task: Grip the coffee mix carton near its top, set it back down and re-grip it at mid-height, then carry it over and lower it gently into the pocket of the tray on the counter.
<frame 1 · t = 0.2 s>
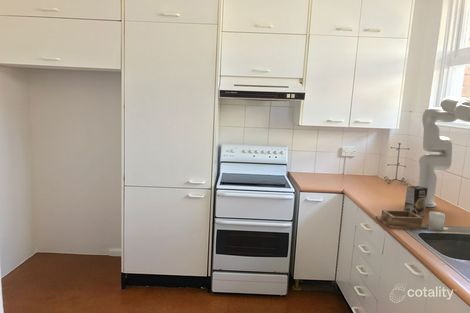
tray: (400, 223, 179), on the worktop
white rounded cylinder: (435, 226, 176), on the worktop
coffee box: (413, 215, 193), on the worktop
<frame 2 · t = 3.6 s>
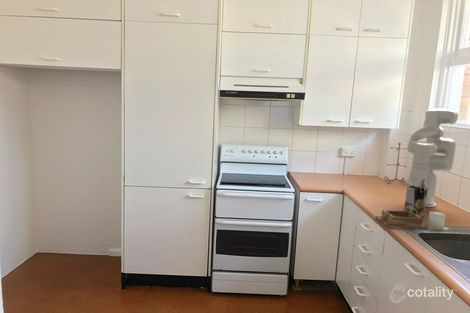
hand: (416, 197, 192), 11 cm above the worktop, fingers closed on coffee box, 8 cm apart
coffee box: (413, 215, 193), on the worktop, touching gripper
everything else where it was.
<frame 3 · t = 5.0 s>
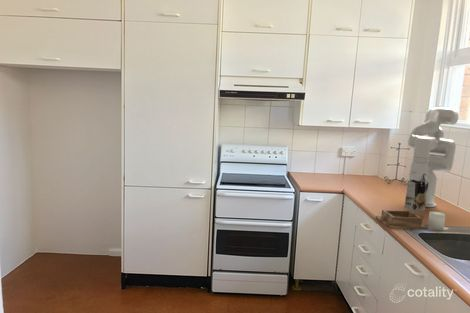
hand: (416, 191, 191), 14 cm above the worktop, fingers closed on coffee box, 8 cm apart
coffee box: (414, 209, 193), point 3 cm above the worktop, touching gripper
everything else where it was.
when the fingers open (11 cm above the worktop, at t = 6.3 s): coffee box stays where it is, on the worktop.
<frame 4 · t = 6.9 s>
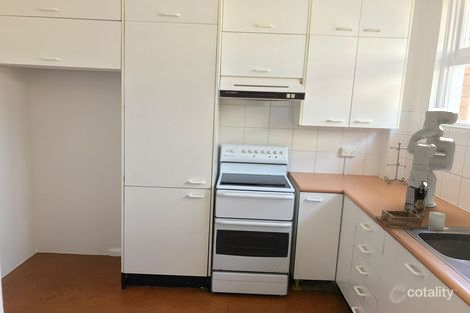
hand: (415, 197, 192), 10 cm above the worktop, fingers open, 9 cm apart
coffee box: (413, 215, 194), on the worktop
everything else where it was.
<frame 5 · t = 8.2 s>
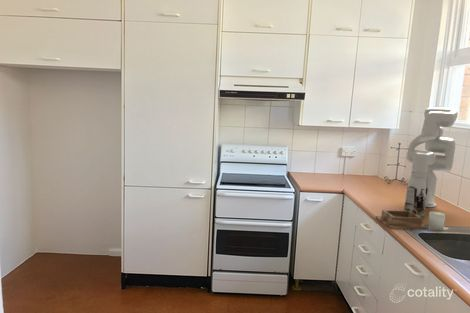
hand: (415, 205, 193), 6 cm above the worktop, fingers closed on coffee box, 8 cm apart
coffee box: (413, 215, 194), on the worktop, touching gripper
everything else where it was.
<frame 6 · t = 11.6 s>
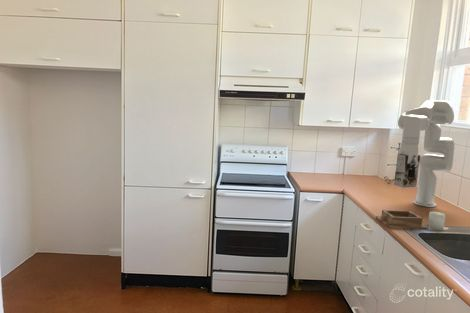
hand: (406, 175, 175), 25 cm above the worktop, fingers closed on coffee box, 8 cm apart
coffee box: (405, 186, 176), point 20 cm above the worktop, touching gripper
everything else where it was.
when the fingers open (9 cm above the worktop, at t = 15.0 s): coffee box drops 2 cm, resting on tray.
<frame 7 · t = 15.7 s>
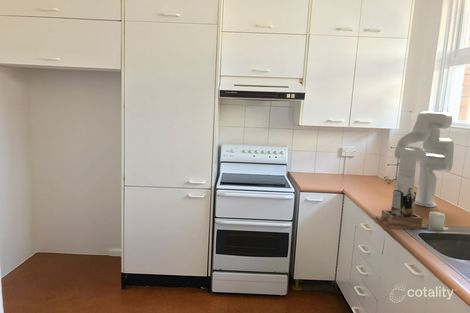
hand: (402, 205, 177), 9 cm above the worktop, fingers open, 9 cm apart
coffee box: (401, 221, 179), point 1 cm above the worktop, touching tray
everything else where it was.
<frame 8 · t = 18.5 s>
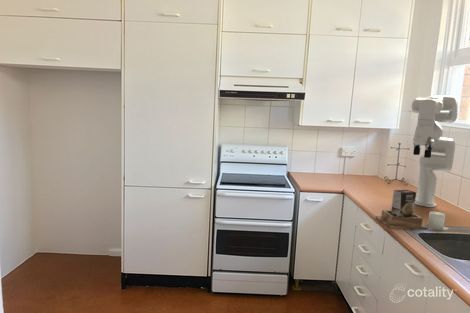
hand: (421, 156, 181), 34 cm above the worktop, fingers open, 9 cm apart
nothing on the worktop moved.
at the end: coffee box inside the target area on the tray (0.2 cm from its centre), point 0.8 cm above the tray's base; coffee box tilted 0°; the gripper is holding nothing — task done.
